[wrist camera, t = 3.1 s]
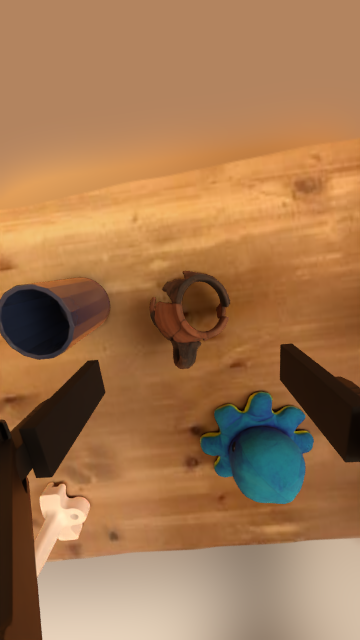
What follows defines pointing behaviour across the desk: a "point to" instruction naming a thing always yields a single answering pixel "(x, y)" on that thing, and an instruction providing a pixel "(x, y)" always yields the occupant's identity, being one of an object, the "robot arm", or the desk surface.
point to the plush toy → (260, 449)
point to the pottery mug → (175, 324)
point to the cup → (51, 315)
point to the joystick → (58, 520)
